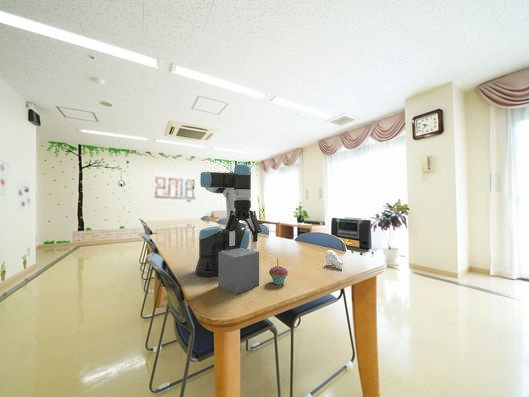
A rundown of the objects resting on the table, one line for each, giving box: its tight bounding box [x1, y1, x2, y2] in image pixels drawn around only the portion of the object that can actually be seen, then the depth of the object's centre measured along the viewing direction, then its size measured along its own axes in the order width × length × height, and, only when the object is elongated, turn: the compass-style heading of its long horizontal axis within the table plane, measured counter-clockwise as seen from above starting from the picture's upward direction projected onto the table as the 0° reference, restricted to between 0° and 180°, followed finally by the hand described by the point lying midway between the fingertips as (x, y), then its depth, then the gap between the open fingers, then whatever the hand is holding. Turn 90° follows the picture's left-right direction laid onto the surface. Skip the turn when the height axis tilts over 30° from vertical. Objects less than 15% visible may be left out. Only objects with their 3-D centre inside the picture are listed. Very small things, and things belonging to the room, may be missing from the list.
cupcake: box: [268, 257, 289, 286], centre depth 92 cm, size 9×8×12 cm
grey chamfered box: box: [217, 248, 260, 295], centre depth 89 cm, size 12×13×15 cm
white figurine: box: [324, 249, 344, 270], centre depth 115 cm, size 6×8×12 cm
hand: (242, 247), depth 90 cm, fingers open, 13 cm apart
